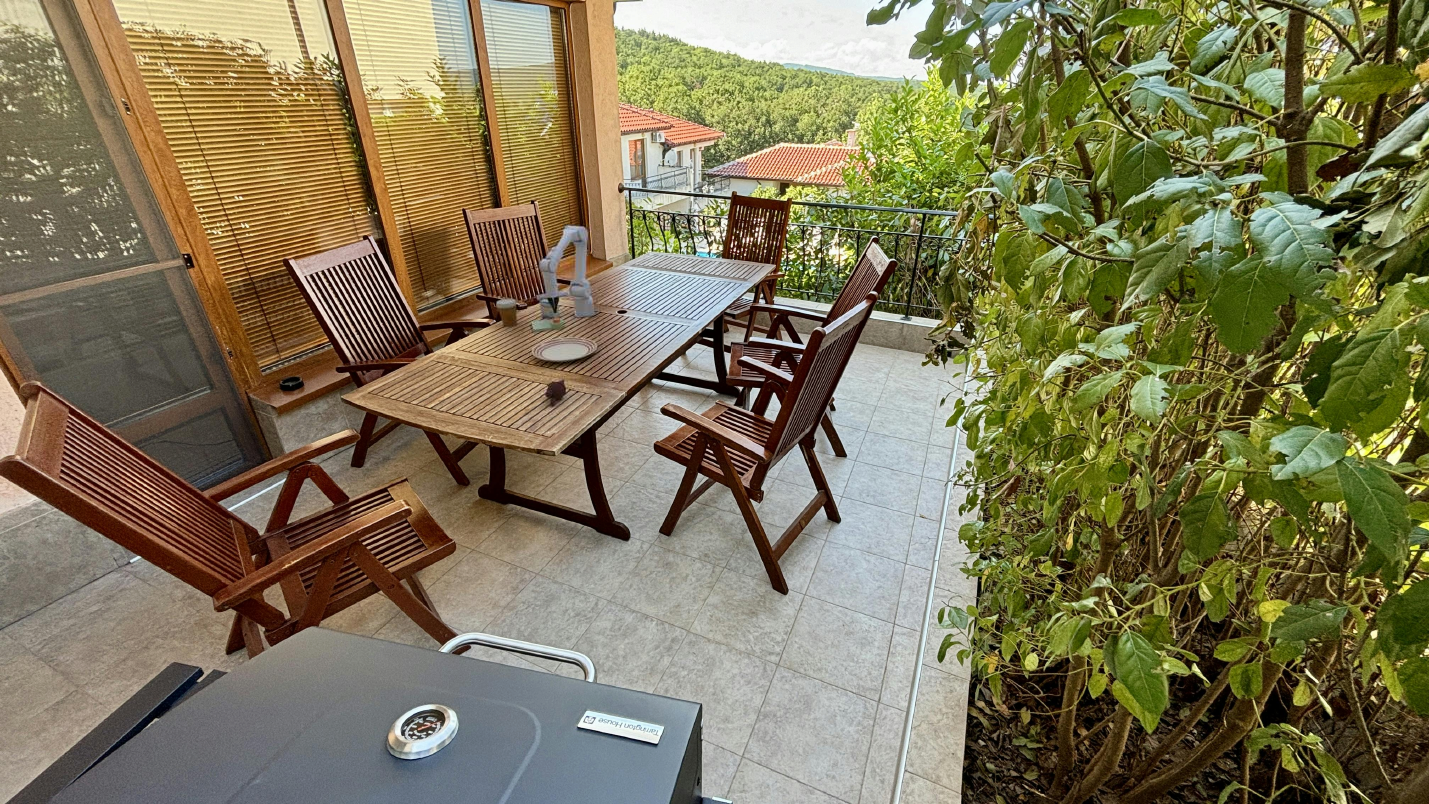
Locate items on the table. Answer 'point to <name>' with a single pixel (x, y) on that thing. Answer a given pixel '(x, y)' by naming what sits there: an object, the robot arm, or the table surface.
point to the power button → (556, 320)
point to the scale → (546, 325)
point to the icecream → (555, 391)
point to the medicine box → (548, 309)
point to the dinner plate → (564, 349)
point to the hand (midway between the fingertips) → (555, 312)
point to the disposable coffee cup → (507, 312)
